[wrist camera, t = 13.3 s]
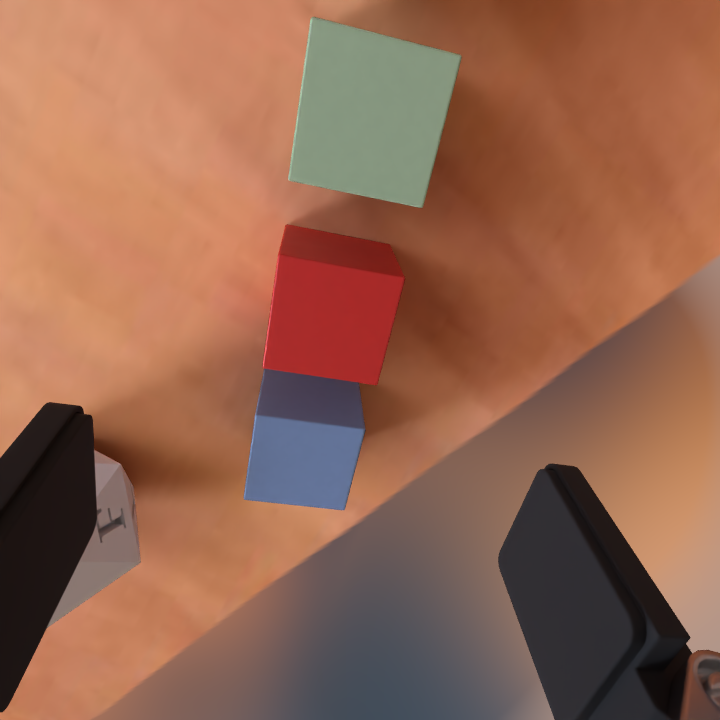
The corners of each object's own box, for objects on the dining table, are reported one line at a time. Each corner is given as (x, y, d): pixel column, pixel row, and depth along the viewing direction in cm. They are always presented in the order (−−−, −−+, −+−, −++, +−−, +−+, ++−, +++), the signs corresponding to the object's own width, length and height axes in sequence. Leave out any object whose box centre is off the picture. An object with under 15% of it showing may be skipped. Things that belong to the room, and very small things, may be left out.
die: (139, 540, 33) (176, 608, 25) (-33, 599, 28) (-59, 708, 20) (113, 411, 32) (142, 436, 24) (-70, 451, 27) (-115, 500, 19)
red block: (285, 223, 24) (278, 254, 19) (390, 244, 25) (405, 277, 20) (271, 321, 26) (261, 369, 22) (367, 337, 27) (377, 386, 22)
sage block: (312, 32, 20) (311, 15, 16) (432, 62, 21) (463, 54, 17) (294, 163, 23) (287, 181, 18) (403, 186, 23) (423, 208, 19)
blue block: (265, 361, 27) (255, 414, 23) (358, 375, 28) (366, 429, 23) (254, 438, 29) (243, 500, 25) (340, 449, 30) (344, 511, 26)
